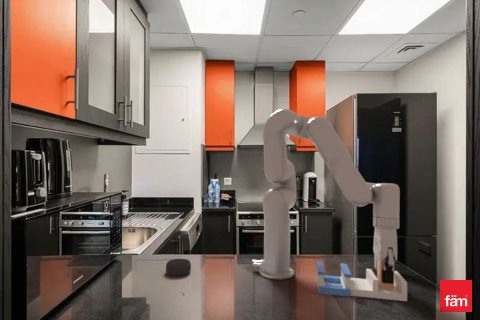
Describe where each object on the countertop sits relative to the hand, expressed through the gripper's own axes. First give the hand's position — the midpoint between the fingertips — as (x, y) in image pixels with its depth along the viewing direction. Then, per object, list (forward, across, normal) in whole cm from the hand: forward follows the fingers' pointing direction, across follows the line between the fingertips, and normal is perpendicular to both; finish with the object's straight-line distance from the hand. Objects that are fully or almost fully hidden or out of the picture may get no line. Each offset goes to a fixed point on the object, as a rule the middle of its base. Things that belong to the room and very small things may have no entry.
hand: (385, 279), depth 94 cm
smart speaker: (+4, 0, -70) cm, 70 cm away
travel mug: (+4, -22, +5) cm, 23 cm away
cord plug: (+2, 0, 0) cm, 2 cm away
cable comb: (+4, 0, -8) cm, 9 cm away
